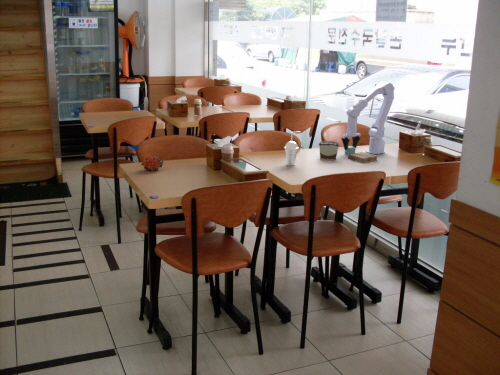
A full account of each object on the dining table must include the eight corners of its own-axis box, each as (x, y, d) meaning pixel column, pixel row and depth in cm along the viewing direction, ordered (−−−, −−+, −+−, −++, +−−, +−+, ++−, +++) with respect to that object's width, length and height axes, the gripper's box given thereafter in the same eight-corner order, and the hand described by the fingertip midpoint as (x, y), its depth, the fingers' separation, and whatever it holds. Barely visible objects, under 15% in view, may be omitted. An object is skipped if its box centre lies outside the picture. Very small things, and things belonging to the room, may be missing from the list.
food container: (337, 157, 326) (339, 141, 324) (338, 159, 321) (339, 143, 318) (317, 156, 328) (318, 140, 325) (317, 159, 322) (318, 142, 319)
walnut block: (361, 156, 331) (361, 152, 331) (376, 160, 322) (377, 156, 321) (347, 159, 325) (348, 154, 324) (363, 163, 315) (363, 158, 315)
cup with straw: (289, 162, 312) (291, 128, 306) (301, 165, 306) (303, 130, 300) (280, 164, 306) (281, 130, 300) (292, 168, 300) (293, 132, 294)
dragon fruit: (165, 172, 291) (143, 177, 288) (162, 160, 295) (140, 165, 293) (164, 162, 284) (142, 167, 281) (161, 150, 289) (138, 155, 286)
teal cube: (349, 152, 339) (350, 145, 338) (355, 154, 336) (355, 147, 335) (344, 153, 337) (345, 146, 335) (349, 155, 333) (350, 148, 332)
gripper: (355, 125, 339) (353, 146, 343) (338, 127, 330) (337, 148, 334) (363, 126, 333) (361, 148, 337) (347, 129, 325) (345, 151, 329)
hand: (350, 148), depth 335 cm, fingers open, 7 cm apart
